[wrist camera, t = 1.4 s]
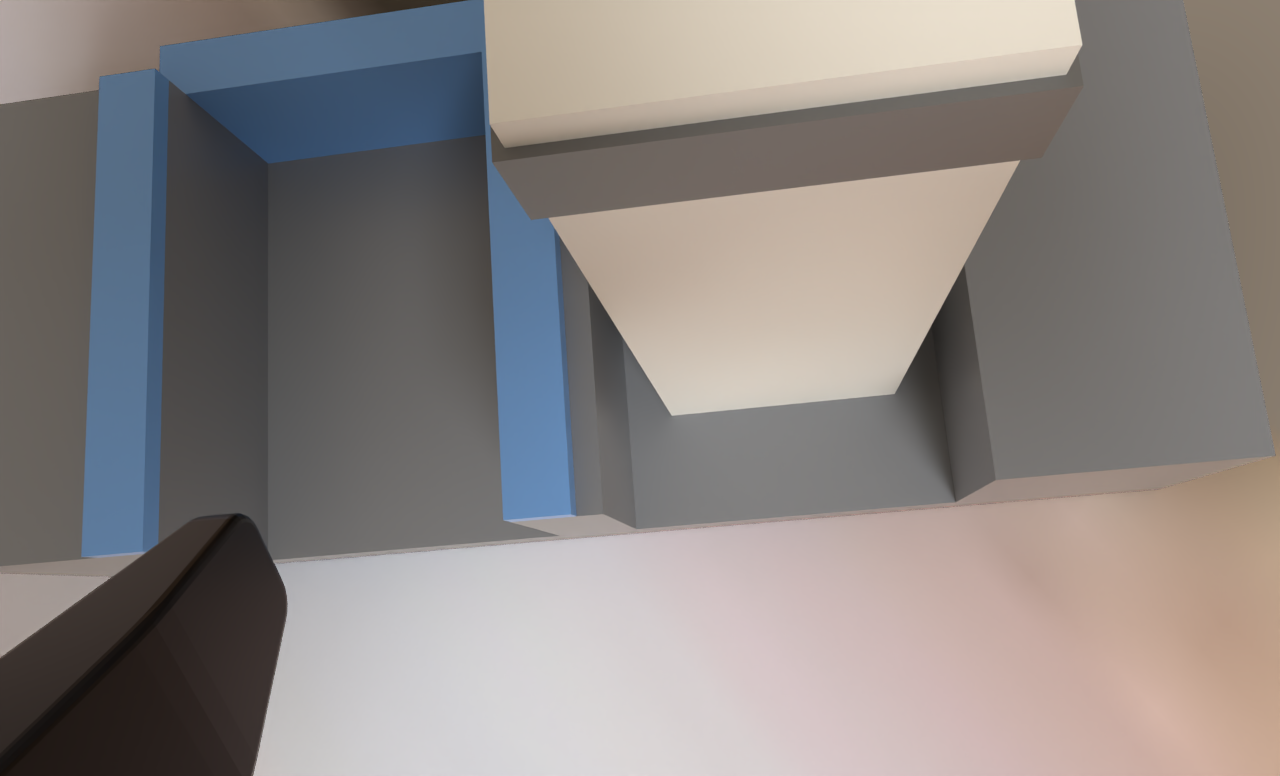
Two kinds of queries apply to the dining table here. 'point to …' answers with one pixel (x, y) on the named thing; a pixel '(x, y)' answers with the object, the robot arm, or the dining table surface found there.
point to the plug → (773, 171)
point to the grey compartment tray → (549, 319)
